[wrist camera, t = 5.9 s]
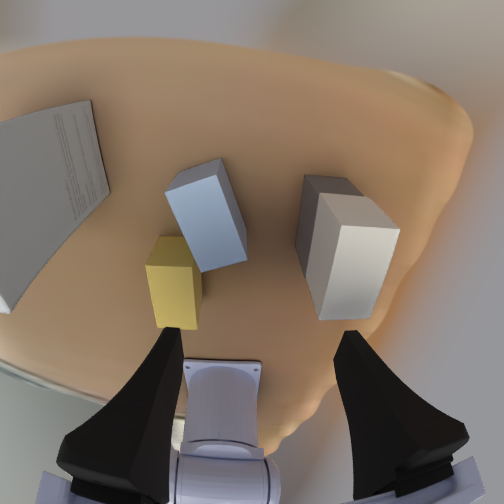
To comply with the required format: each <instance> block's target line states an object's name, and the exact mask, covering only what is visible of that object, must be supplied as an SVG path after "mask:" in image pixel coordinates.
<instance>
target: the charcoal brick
mask: <svg viewBox="0 0 504 504" xmlns="http://www.w3.org/2000/svg"><path fill="white" fill-rule="evenodd" d="M320 193H331V194H342V195H353V196H363V197H365V196H364V195H363V194H362V193H361V192H360V191H359V190H358V189H357V188H356V187H355V186H354V185H353V184H352V183H351V182H350V181H349V180H348V179H347V178H337V177H327V176H316V175H305V176H304V184H303V192H302V200H301V207H300V215H299V222H298V229H297V236H296V243H295V248H296V251H297V254H298V257H299V261H300V264H301V267H302V271H303V274H304V277H305V278H306V270H307V265H308V260H309V254H310V249H311V243H312V237H313V231H314V225H315V219H316V213H317V207H318V200H319V194H320Z"/></svg>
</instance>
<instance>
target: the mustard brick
mask: <svg viewBox="0 0 504 504" xmlns="http://www.w3.org/2000/svg"><path fill="white" fill-rule="evenodd" d="M145 266H146V272H147V277H148V283H149V288H150V293H151V299H152V304H153V308H154V313H155V318H156V323H157V327H158V328H165V327H177V328H180V329H187V330H197V329H198V323H199V316H200V309H201V303H202V296H203V295H202V278H201V271H200V269H199V267H198V265H197V263H196V261H195V259H194V257H193V254H192V252H191V250H190V248H189V246H188V244H187V242H186V239H185V237H180V236H159V238H158V240H157V242H156V244H155V246H154V249H153V251H152V253H151V255H150V257H149V259H148V261H147V263H146V265H145Z"/></svg>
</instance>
